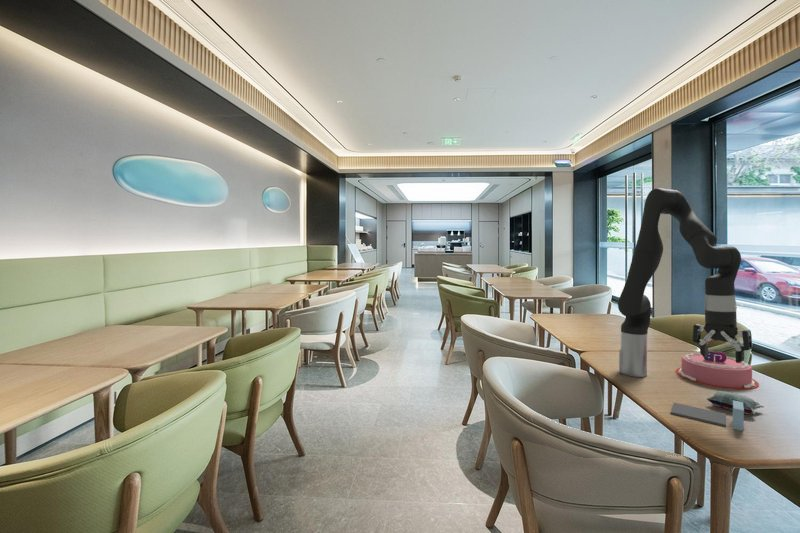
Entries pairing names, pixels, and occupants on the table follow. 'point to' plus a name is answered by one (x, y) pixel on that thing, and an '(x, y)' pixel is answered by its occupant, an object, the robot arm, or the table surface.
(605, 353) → the table surface
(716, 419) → the mat
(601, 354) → the table surface
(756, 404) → the packaged food
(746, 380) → the cake
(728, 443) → the table surface
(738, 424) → the block
